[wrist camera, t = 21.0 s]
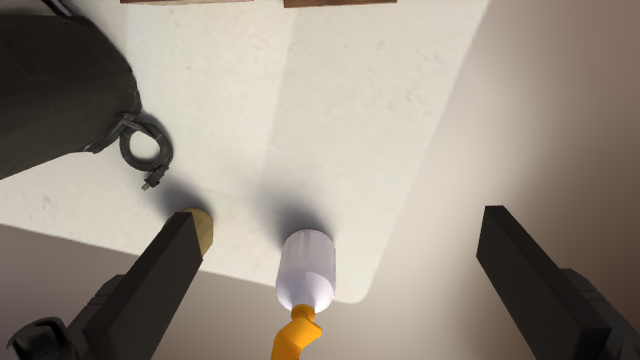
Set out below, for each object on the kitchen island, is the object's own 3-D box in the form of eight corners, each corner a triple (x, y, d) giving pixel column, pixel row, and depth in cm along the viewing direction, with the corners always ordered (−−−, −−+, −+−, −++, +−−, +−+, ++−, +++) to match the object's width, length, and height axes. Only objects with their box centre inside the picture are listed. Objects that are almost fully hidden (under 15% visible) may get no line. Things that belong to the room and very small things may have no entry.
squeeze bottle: (163, 209, 59) (98, 284, 43) (205, 195, 57) (154, 267, 41) (187, 247, 62) (135, 330, 46) (228, 234, 60) (189, 315, 44)
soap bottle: (346, 249, 61) (353, 384, 39) (310, 278, 64) (297, 418, 42) (308, 218, 59) (293, 343, 36) (273, 249, 62) (239, 382, 39)
